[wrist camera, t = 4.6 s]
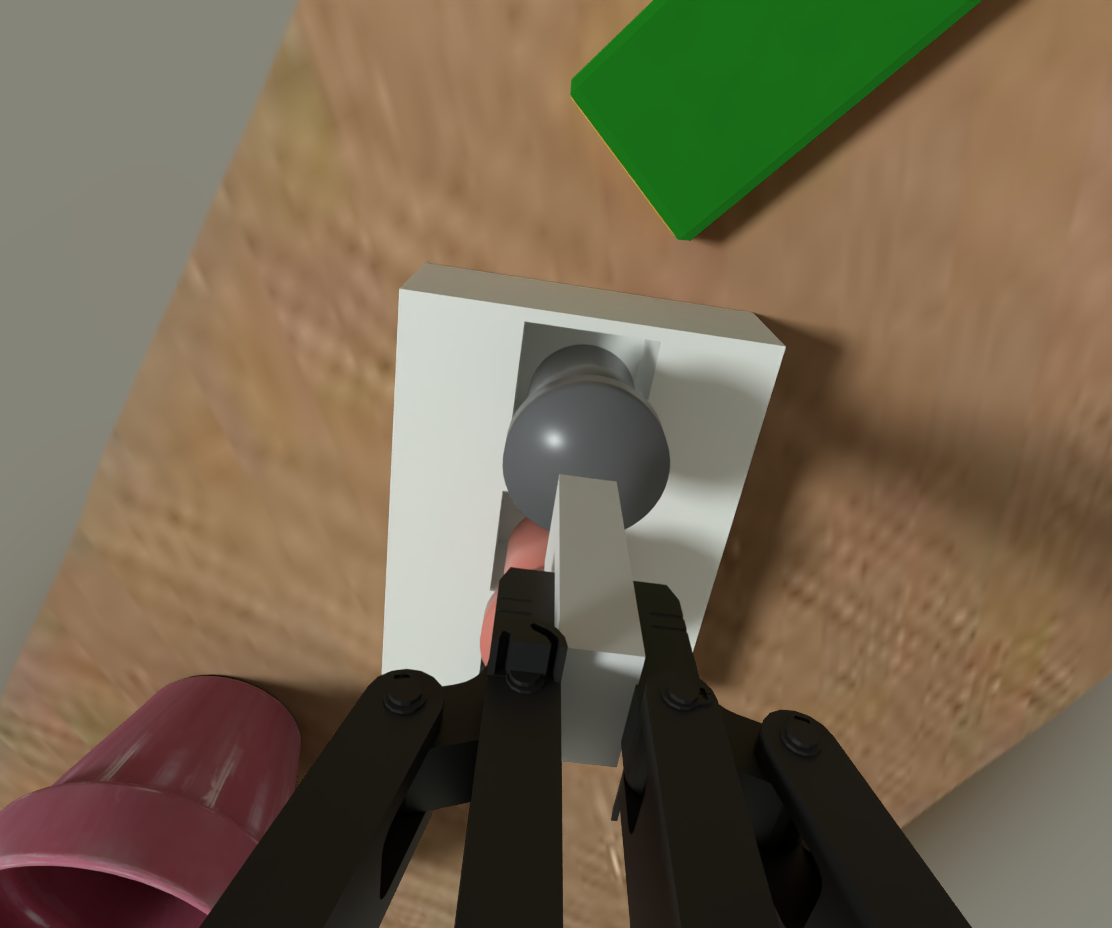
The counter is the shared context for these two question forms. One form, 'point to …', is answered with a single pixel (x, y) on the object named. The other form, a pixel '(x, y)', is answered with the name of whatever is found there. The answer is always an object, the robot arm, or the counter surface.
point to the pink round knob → (521, 553)
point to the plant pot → (152, 813)
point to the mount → (483, 421)
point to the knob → (585, 435)
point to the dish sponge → (740, 89)
